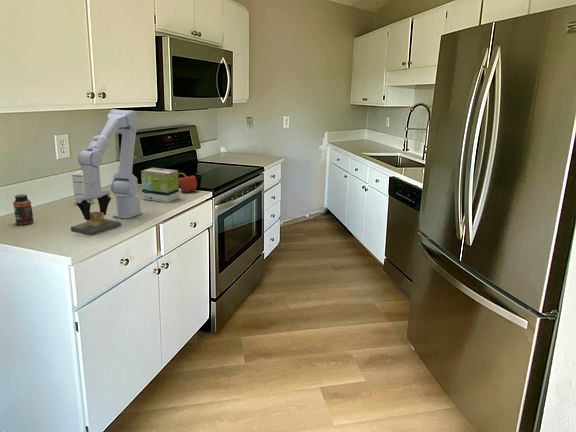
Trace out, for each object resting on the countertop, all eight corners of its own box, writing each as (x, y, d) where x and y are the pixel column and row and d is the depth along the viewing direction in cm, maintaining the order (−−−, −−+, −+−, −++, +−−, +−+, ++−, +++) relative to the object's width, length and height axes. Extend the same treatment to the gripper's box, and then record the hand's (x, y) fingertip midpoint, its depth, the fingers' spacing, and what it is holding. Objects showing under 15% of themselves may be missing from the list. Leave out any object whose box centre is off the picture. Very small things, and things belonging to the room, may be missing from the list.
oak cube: (96, 221, 167) (95, 210, 166) (104, 223, 165) (103, 212, 164) (86, 224, 163) (85, 213, 162) (95, 226, 161) (94, 215, 160)
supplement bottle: (37, 221, 170) (33, 193, 167) (28, 225, 164) (24, 197, 161) (21, 220, 170) (17, 193, 167) (12, 225, 164) (8, 196, 161)
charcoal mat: (100, 221, 173) (100, 217, 172) (120, 225, 168) (120, 222, 168) (71, 230, 161) (70, 226, 160) (92, 235, 156) (91, 231, 156)
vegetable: (173, 192, 225) (172, 174, 223) (183, 188, 235) (183, 170, 232) (191, 194, 222) (190, 175, 219) (201, 190, 232) (200, 172, 229)
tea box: (141, 199, 208) (140, 170, 204) (153, 195, 218) (152, 167, 214) (168, 203, 204) (167, 172, 200) (179, 198, 214) (178, 169, 209)
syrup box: (86, 205, 195) (82, 174, 191) (74, 204, 196) (71, 173, 192) (93, 202, 201) (90, 172, 197) (82, 201, 202) (79, 171, 198)
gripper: (99, 178, 167) (102, 211, 171) (68, 184, 155) (71, 220, 158) (113, 180, 165) (116, 213, 168) (81, 187, 152) (85, 223, 156)
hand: (95, 217), depth 163 cm, fingers open, 7 cm apart
